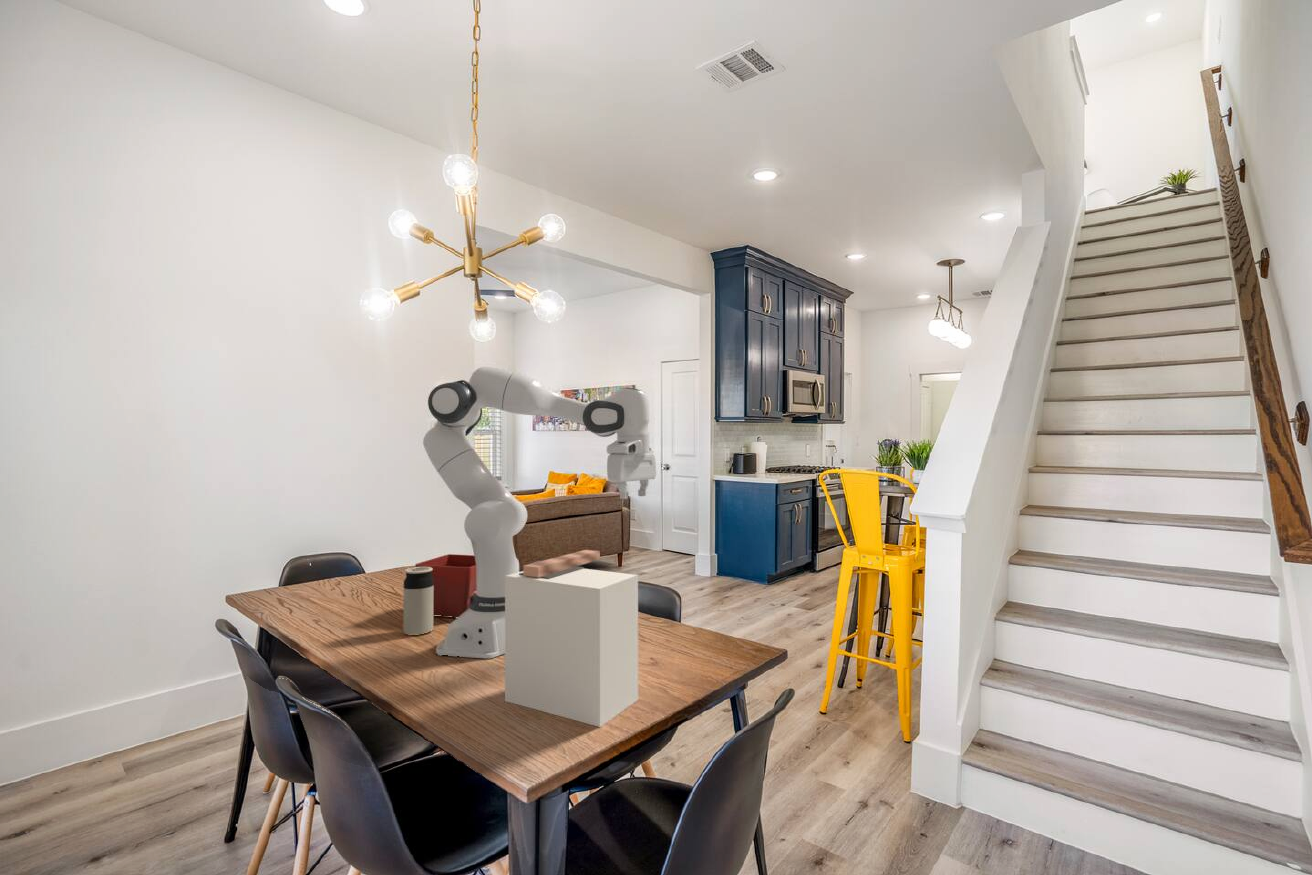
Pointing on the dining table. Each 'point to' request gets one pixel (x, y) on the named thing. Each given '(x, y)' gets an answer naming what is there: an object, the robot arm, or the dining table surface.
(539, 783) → the dining table surface
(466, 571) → the plant pot
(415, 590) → the travel mug
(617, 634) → the tall white box
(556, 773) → the dining table surface
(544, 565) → the terracotta slat
